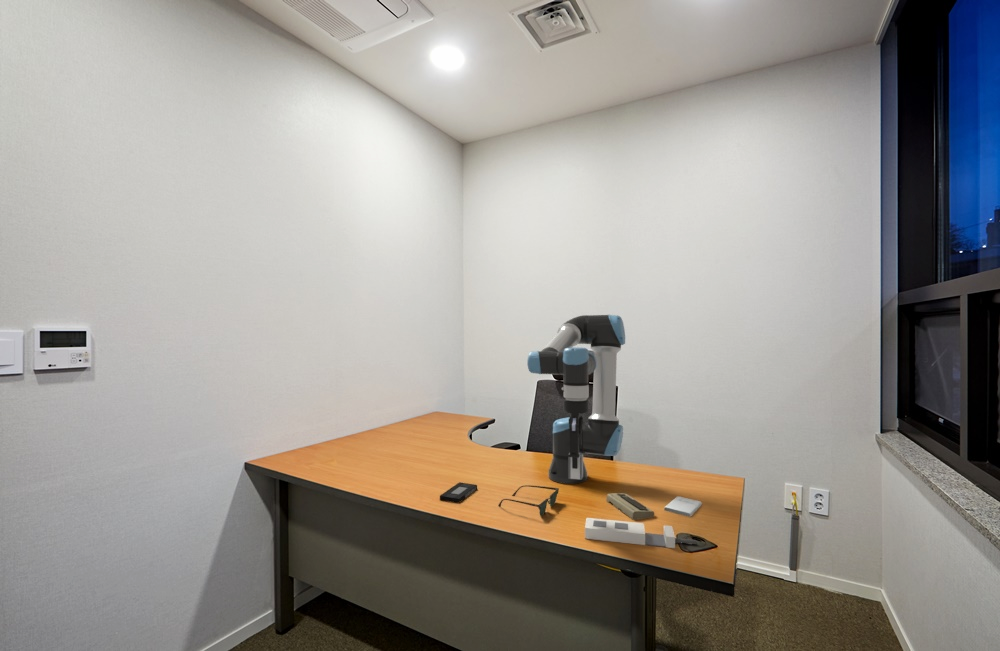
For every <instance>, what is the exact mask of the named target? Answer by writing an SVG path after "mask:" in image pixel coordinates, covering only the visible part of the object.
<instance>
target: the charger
mask: <svg viewBox="0 0 1000 651" xmlns="http://www.w3.org/2000/svg"><path fill="white" fill-rule="evenodd" d="M569 454H570V453H569ZM579 455H580V456H579V457H580V479H578V480H582V478H583V461H584V453H581V452H579ZM568 479H571V463H570V457H568Z"/></svg>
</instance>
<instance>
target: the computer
mask: <svg viewBox="0 0 1000 651" xmlns="http://www.w3.org/2000/svg"><path fill="white" fill-rule="evenodd" d="M606 502H607V503H608V504H612V505H613V507H614V508H615V509H617V510H618V511H619V510H620V513H623V514H624V515H625V516H627V517H628V518H630V519H631V520H632V521H635V520H641V519H643V520H644V519H647V518H654V517H655V511H653V509H651V508H649V507H647V506H646V505H644V504H643V503H641V502H639V501H638V500H637V499H636V498H633V497H632V496H631V495H629V494H627V493H622V492H621V493H619V492H617V493H616V492H615V493H607V494H606Z"/></svg>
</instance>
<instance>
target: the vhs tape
mask: <svg viewBox="0 0 1000 651" xmlns="http://www.w3.org/2000/svg"><path fill="white" fill-rule="evenodd" d="M476 490H478V484H474V483H473V484H472V483H466V482H457V483H456V484H455V485H454V486H451V487H450V488H449V489H447V490H446V491H445V492H443V493H441V494H440V495H439V500H440V501H442V502H443V501H444V502H450V503H456V504H460V503H461V502H462V501H464V500H465V499H466V498H467V497H469V496H470V495H471V494H472V493H474V492H475V491H476Z"/></svg>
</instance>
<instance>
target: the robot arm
mask: <svg viewBox="0 0 1000 651" xmlns="http://www.w3.org/2000/svg"><path fill="white" fill-rule="evenodd" d="M584 344H585V345H590V349H591V350H592V351H593V353H594V354H593V353H591V352H589V349H588V348H586V347H578V346H577V345H584ZM625 344H626V332H625V325H624V321H623V318H622V317H621V316H620V315H616V314H596V315H594V314H593V315H592V314H590V315H587V314H583V315H578V316H576V317H575V316H574V317H573V318H570V319H569V320H567V321H565V322H564V323H563V324H561V325H560V327H558V330H557V332H556V334H555V335H554V337H553V338H552V339H551V340H550V341H549V342H548V343H547V344H546V345H545V346H544V347H543V349H541V350H540V351H539V350H534V351H530V352H529V353H528V355H527V369H528V371H529V373H531V374H537V375H556V376H557V375H559V376H560V375H561V376H563V377H562V378H563V382H562V383H563V386H562V387H561V390H562V391H563V398H564V399H563V403H562V404H563V407H562V408H563V412H565V413H567V414H570V417H563V418H559V419H556V420H555V421H554V422H553V423H552V459H551V463H550V466H549V469H548V479H550V481H553V482H556V483H559V484H566V485H567V484H568V485H571V484H572V485H573V484H574V485H576V484H582V483H583V482H586V481H587V480H588V471H587V468H586V464H585V461H584V460H583V478H582V480H578V479H580V457H579V456H580V455H579V452H581V453H583V454H590V455H598V456H604V457H607V456H608V457H609V456H610V457H611V456H612V457H614V456H615V457H616V456H617V455H618V454H619V452H620V451H621V447H622V444H623V436H624V427H623V425H622V424H620V420H619V419H618V418H617V416H616V394H617V390H616V389H617V385H616V384H617V355H618V353H619V352H620V351H621V350H622V346H623V345H625ZM575 346H577V347H575ZM592 374H593V382H592V384H593V385H592V386H593V387H592V409H591V410H592V412H591V415H589V417H588V418H587V422H586V421H585V422H584V417H583V416H582V415H581V414H586V413H588V412H589V405H590V404H589V399H588V398H589V397H590V396H589V394H590V393H589V392H590V391H589V386H590V385H589V375H592ZM569 453H570V454H569ZM568 457H570V463H571V479H568Z"/></svg>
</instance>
